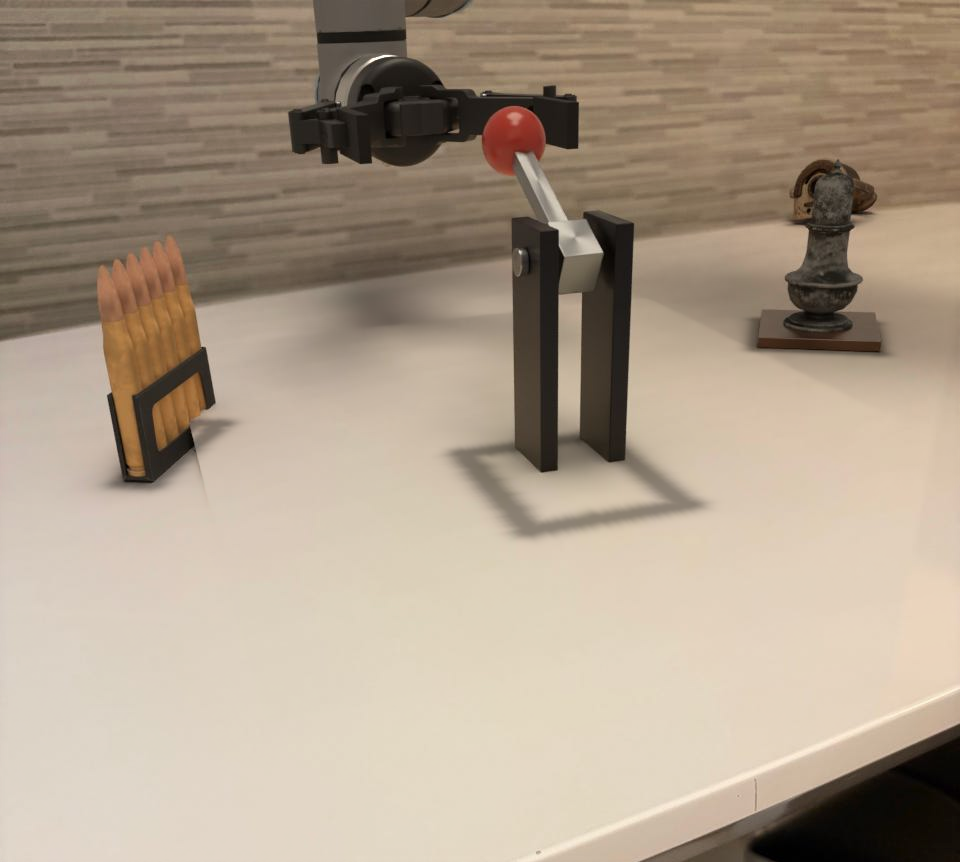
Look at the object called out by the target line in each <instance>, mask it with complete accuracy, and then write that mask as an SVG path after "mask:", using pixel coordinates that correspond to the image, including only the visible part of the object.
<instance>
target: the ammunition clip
mask: <svg viewBox="0 0 960 862" xmlns="http://www.w3.org/2000/svg"><path fill="white" fill-rule="evenodd" d="M165 240H166V241H165V246H163V245H162V243H161V242H160V241H159V240H155V241H154V244H153V249H152V254H151V252H150V251H149V249H148V247H147V246H145V245H144V246H142V247H141V249H140V253H139V260H138V259H137V257H136V254H134V253H133V252H132V251H130V252H128V254H127V257H126V267H125V266H124V265H123V263H122V262H121V260H120V259H119V258H115V259H114V260H113V264H112V269H111V272H112V273H111V274H110V272H109V271H108V269H107V268H106V266H105V265H104V264H100V266H99V267H98V271H97V280H96V283H97V284H96V291H97V292H96V293H97V304H98V305H97V306H98V310H99V316H100V323H101V324H100V325H101V331H102V350H103V356H104V360H105V366H106V371H107V377H108V381H109V386H110V392H109V393H108V394H106V399H107V404H108V410H109V414H110V420H111V425H112V430H113V435H114V441H115V446H116V450H117V457H118V461H119V462H118V463H119V466H120V472H121V478H122V480H123V481H133V482H154V481H155V480H157V479H158V478H159V477H160V476H161V475H162V474H163V473H165V472H166V471H167V470H168V469H169V468H170V467H171V466H173V464H175V463H176V462H177V461H178V460H179V459H180V458H182V456H184V455H185V454H186V453H187V452H188V451H189V450H190V449H192V448H193V447H194V446H195V445H196V444H195V441H194V437H193V433H192V429H191V424H190V420H192V419H196V418H198V417H200V416H201V411H204V410H206V411H208V410H209V409H211V408H212V407H213V406H214V405H216V396H215V390H214V385H213V380H212V379H213V378H212V374H211V368H210V362H209V361H210V360H209V357H208V351H207V347H206V346H202V343H201V337H200V330H199V324H198V317H197V312H196V308H195V304H194V301H193V299H192V296H191V291H190V287H189V283H188V278H187V274H186V268H185V265H184V261H183V257H182V254H181V252H180V249H179V247H178V244H177V242H176V240H175V239H174V237H173V236H172V234H168V235H167V237H166V239H165Z"/></svg>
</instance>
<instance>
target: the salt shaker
mask: <svg viewBox="0 0 960 862" xmlns="http://www.w3.org/2000/svg"><path fill="white" fill-rule="evenodd" d="M841 163H842V162H841V161H840V159H839V158H838V159H836V162H835V164H834V165H833V166H834V170H833V171H831V172H830V173H829V174H826V175H824V176H822V177H821V178H819V180H818V181H817V182H816V185H815V191H814V200H813V208H812V217H811V219H810V221H808V222H807V223H805V226H804V227H805V228H806V229H807V231H808V233H807V234H808V235H807V241H806V242H807V244H806V251H805V255H804V258H803V261H802V264H801V266H800V267H799V268H797V269H796V270H793V271H790V272H787V273H786V274H784V281H785V282H786V283H787V288H786V289H787V294H788V296H789V297H788V298H789V301H790V302H791V304H792V305H793V306H794V307H795V308H797V309H798V310H804V311H802V312H797V313H794V314H792V315H790V316H789V317H787V318H786V319H785V320H784V321H783V323H784V325H785V326H787V327H789V328H791V329H795V330H800V331H806V332H838V331H843V330H847V329H849V328H851V327H852V326H853V323H852V321H851V320H849V319H848V318H847V317H846V316H844V315H842V314H839V313H835V312H836V311H842V310H844V309H845V308H846V307H847V306H849V305H850V304H851V303H852V301H854V299H855V296H856V295H857V293H858V288H859V285H861V284H862V282H863V281H864V278H863V276H862V275H860V274H859V273H856V272H854V271H853V270H852V269H851V268H850V267H849V261H848V249H849V241H850V234H851V231H852V230H854V229H855V228H856V226H855V224H854V223H853V222H852V221H851V219H852V218H851V217H852V213H853V212H852V204H853V197H854V189H855V183H854V181H853V179H852V178H851V177H850V176H849V175H846V174H844V173H843V171H840V167H841V166H842V165H841Z"/></svg>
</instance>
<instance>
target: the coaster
mask: <svg viewBox="0 0 960 862" xmlns="http://www.w3.org/2000/svg"><path fill="white" fill-rule="evenodd" d="M802 311H804V310H801V309H773V308H772V309H771V308H770V309H769V308H763V309H761V313H760V321H759V329H758V335H757V348H766V349H768V348H769V349H797V350H821V351H822V350H823V351H848V352H849V351H851V352H881V349H882V344H883V343H882V338H881V337H882V336H881V333H880V329H879V324H878V320H877V316H876V312H873V311H842V310H839V311H836V312H835V313H839V314H842V315H844V316H846V317H847V318H848V319H849V320H851V321H852V323H853V326H852V327H851V328H849V329H847V330H843V331H838V332H806V331H800V330H795V329H791V328H789V327H787V326H785V325H784V323H783V321H784V320H785V319H786V318H787V317H789V316H790V315H792V314H794V313H797V312H802Z"/></svg>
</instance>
